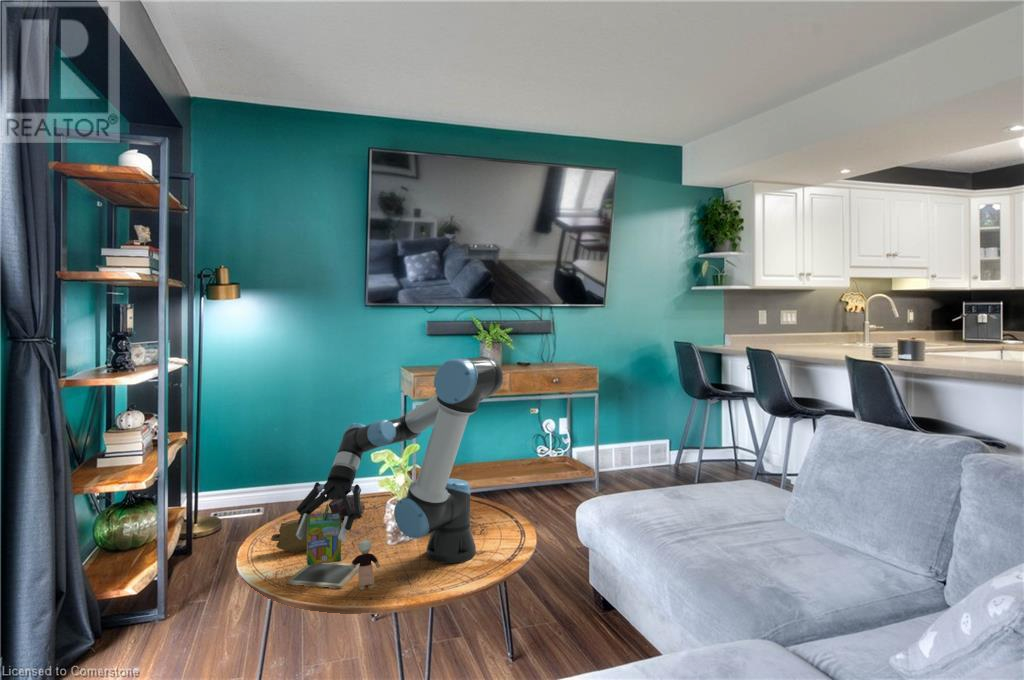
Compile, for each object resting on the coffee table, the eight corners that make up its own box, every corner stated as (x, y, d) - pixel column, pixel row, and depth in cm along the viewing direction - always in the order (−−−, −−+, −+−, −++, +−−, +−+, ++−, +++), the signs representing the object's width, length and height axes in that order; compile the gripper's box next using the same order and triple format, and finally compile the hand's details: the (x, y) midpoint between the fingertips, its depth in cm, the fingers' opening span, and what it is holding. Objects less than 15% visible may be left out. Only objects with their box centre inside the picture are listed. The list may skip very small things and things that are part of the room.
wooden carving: (326, 544, 186) (326, 514, 185) (326, 550, 181) (326, 518, 181) (271, 551, 180) (271, 519, 180) (270, 556, 176) (270, 524, 176)
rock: (337, 516, 217) (327, 525, 207) (334, 494, 217) (323, 501, 207) (367, 512, 216) (358, 520, 206) (364, 490, 216) (355, 497, 206)
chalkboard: (362, 567, 168) (362, 564, 168) (341, 588, 154) (341, 585, 154) (311, 563, 171) (311, 561, 171) (285, 584, 157) (285, 581, 157)
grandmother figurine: (377, 581, 159) (376, 536, 159) (380, 587, 155) (380, 540, 155) (348, 587, 155) (348, 540, 155) (352, 593, 152) (351, 545, 152)
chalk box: (306, 553, 166) (306, 502, 165) (339, 549, 169) (339, 499, 168) (306, 566, 157) (306, 512, 156) (341, 562, 160) (341, 509, 160)
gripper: (384, 478, 176) (364, 547, 161) (311, 474, 179) (284, 541, 165) (378, 465, 170) (356, 535, 155) (302, 462, 174) (274, 529, 159)
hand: (319, 538), depth 160 cm, fingers closed on chalk box, 12 cm apart
